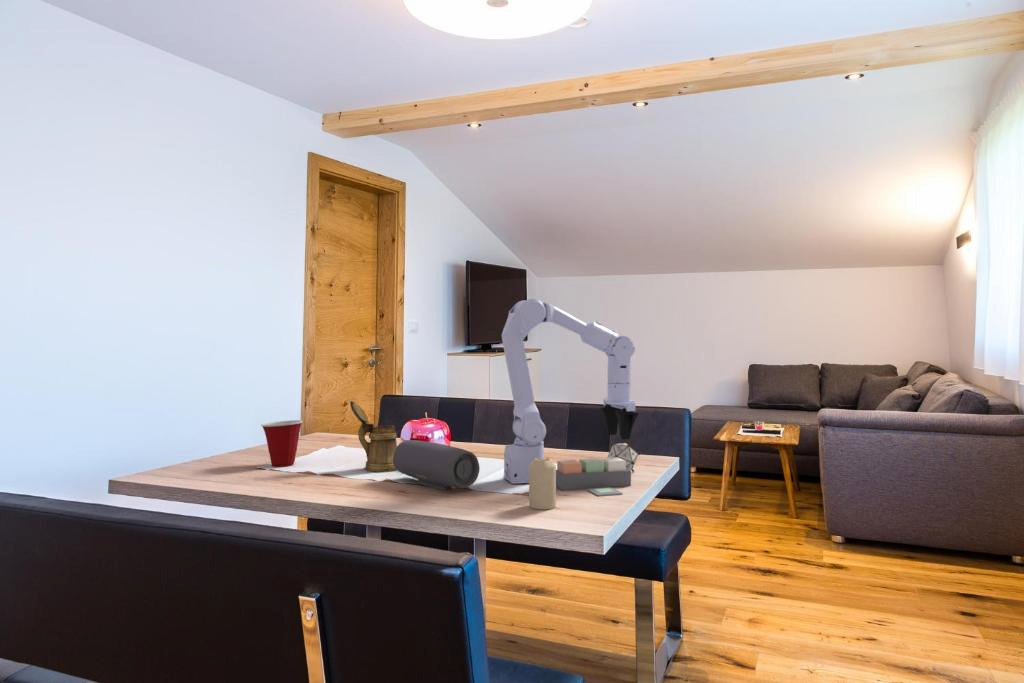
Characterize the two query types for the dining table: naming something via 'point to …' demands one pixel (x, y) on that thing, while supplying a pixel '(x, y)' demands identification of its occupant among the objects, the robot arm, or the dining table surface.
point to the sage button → (592, 465)
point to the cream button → (614, 464)
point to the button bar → (593, 480)
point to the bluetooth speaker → (436, 464)
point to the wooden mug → (376, 442)
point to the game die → (624, 454)
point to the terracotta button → (569, 467)
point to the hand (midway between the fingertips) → (618, 436)
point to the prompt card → (604, 491)
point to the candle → (542, 484)
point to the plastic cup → (282, 441)
